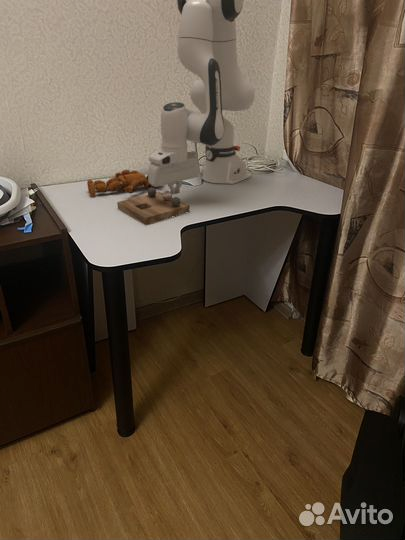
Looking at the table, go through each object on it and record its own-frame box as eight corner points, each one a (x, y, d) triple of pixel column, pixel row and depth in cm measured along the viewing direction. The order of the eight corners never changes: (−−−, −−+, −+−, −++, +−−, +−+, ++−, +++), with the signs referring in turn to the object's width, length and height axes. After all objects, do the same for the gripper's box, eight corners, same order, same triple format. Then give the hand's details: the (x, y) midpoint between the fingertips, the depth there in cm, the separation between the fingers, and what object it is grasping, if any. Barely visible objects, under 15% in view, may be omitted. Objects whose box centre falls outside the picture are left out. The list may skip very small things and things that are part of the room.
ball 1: (153, 194, 146) (152, 185, 144) (158, 196, 144) (157, 188, 142) (145, 195, 144) (145, 187, 142) (150, 198, 142) (150, 189, 140)
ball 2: (176, 203, 138) (176, 194, 136) (182, 206, 136) (182, 197, 134) (169, 205, 136) (169, 196, 134) (174, 208, 134) (174, 199, 132)
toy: (94, 206, 144) (172, 194, 154) (91, 188, 141) (171, 176, 150) (86, 189, 160) (157, 179, 170) (83, 172, 157) (156, 163, 166)
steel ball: (168, 197, 143) (167, 188, 141) (173, 200, 141) (173, 190, 139) (160, 199, 141) (159, 190, 139) (166, 202, 139) (165, 192, 137)
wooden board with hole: (159, 198, 150) (159, 191, 148) (189, 212, 138) (189, 205, 137) (117, 208, 139) (117, 202, 138) (146, 225, 128) (145, 217, 126)
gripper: (192, 148, 143) (191, 185, 150) (144, 157, 131) (146, 196, 138) (203, 152, 139) (202, 190, 146) (155, 161, 127) (157, 201, 134)
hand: (175, 193), depth 142 cm, fingers closed
